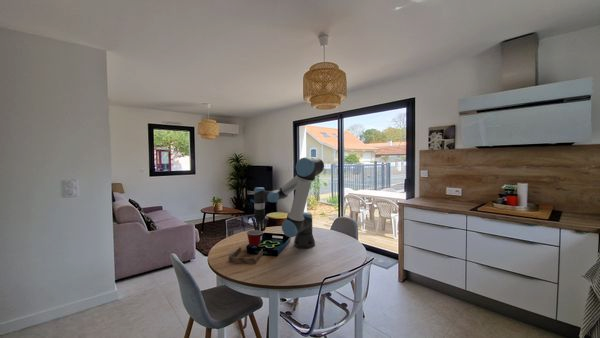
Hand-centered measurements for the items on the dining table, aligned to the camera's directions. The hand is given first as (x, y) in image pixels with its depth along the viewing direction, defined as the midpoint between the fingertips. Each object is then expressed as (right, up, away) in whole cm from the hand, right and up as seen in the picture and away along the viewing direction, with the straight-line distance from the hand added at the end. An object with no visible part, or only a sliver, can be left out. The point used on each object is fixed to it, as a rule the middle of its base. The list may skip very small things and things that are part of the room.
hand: (260, 239), depth 182 cm
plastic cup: (-2, -3, -12) cm, 12 cm away
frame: (-4, -3, -26) cm, 26 cm away
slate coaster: (-14, -3, -20) cm, 25 cm away
